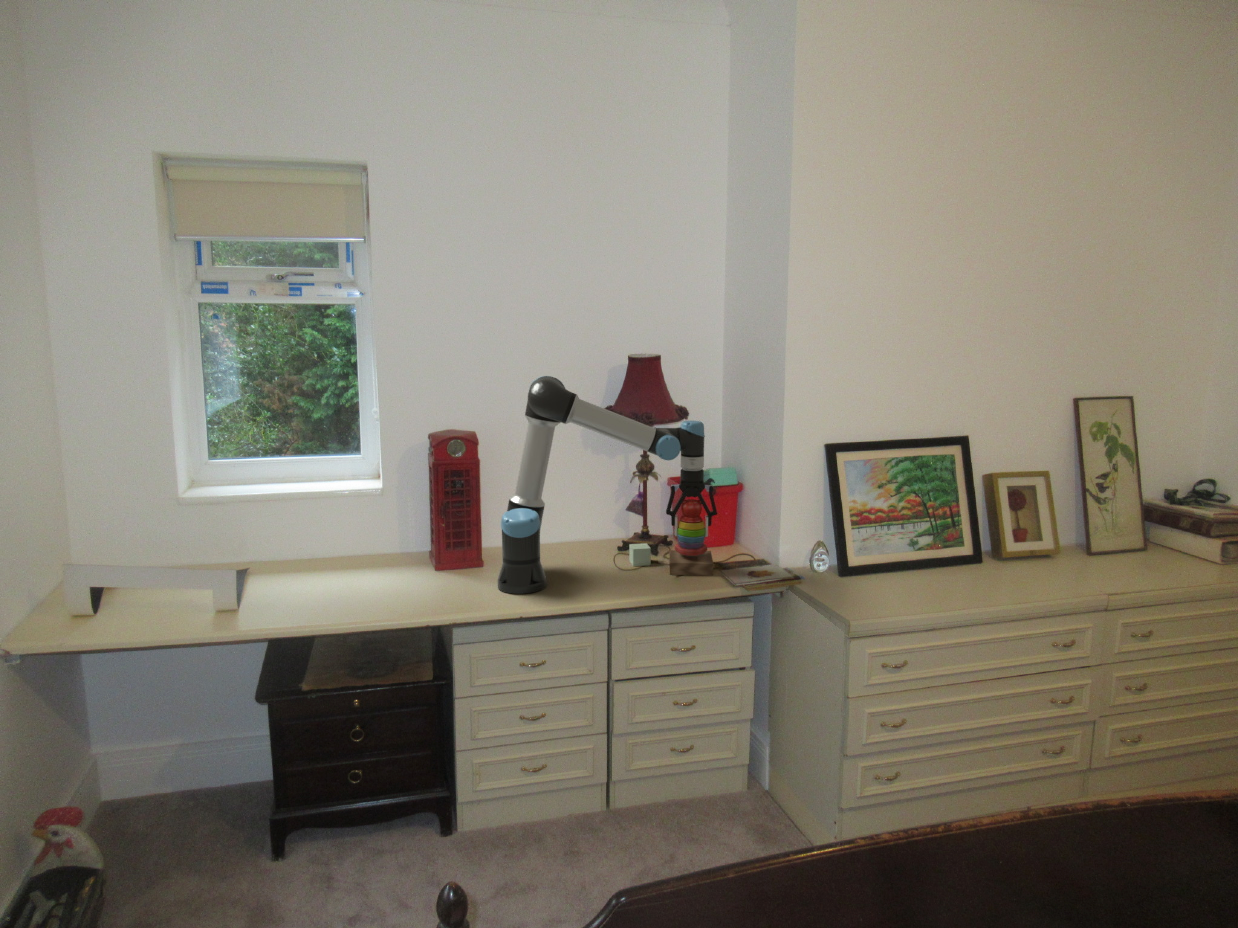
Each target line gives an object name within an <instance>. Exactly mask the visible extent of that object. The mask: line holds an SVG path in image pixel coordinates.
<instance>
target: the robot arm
mask: <svg viewBox="0 0 1238 928" xmlns="http://www.w3.org/2000/svg"><path fill="white" fill-rule="evenodd" d="M524 413H525V414H524V417H525V418H526V420H527V421H528V423H527V429H526V433H525V440H524V444H523V450H522V455H521V459H520V460H521V461H520V464H519V465H520V466H519V471H518V476H517V480H516V481H517V482H516V486H515V490H514V491H515V492H514V494H512V495H511V496H509V498H508V503H507V509H506V511H505V512H504V513H503V514H502V516H501V521H500V528H501V545H502V546H501V548H502V549H501V550H502V551H501V552H502V564H501V567H500V570H499V574H498V577H497V589H498V590H499V591H501V592H502V593H503V592H504V593H508V594H512V595H513V594H514V595H519V594H520V595H521V594H522V595H523V594H524V595H525V594H533V593H536V592H540V591H542V590H544V589H546V587H547V576H546V573H545V571H544V568H543V565H542V562H541V527H542V523H543V516H544V510H545V507H546V503H545V502H544V500H543V499H542V496H543V493H544V486H545V481H546V475H547V470H548V465H549V460H550V454H551V450H552V446H553V440H554V435H555V430H556V429H555V428H556V426H558V425H560V424H561V423H562V424H564V425H566V424H570V423H571V424H574V425H576V426H578V427H582V428H585V429H587V430H590V431H592V432H595V433H598V434H600V435H603V436H605V437H608V438H611V439H614V440H616V441H618V442H621V443H624V444H627V445H629V446H632V447H635V448H636V449H640V450H643V451H645V452H647V453H650V454H652V455H655V456H657V457H659V458H660V459H661V460H663V461H672V460H675V459H677V457H678V456H680V468H681V469H680V481H679V484H671V485H670V495H669V498H668V502H667V506H666V509H665V514H666V515H667V516H670V517H671V518H670V519H671V520H670V521H671V523H670V524H671V526H673V527H674V537H677V528H678V514H677V513H678V511H679V509H681V508H680V507H682V502H683V501H684V500H686V498H691V497H692V498H698V500H700V501H701V503H702V504H701V506H702V508H703V509H704V511H705V513H706V514H705V518H704V519H705V520H704V525H705V538H706V537H707V538H708V537H709V527H711V526H712V518H713V517H714V516H717V515H718V512H717V511H718V510H717V507H716V504H715V503H716V502H715V498H714V494H713V491H714V486H713V485H712V484H705V482H704V479H705V478H704V477H705V475H704V474H705V471H704V469H703V468H704V467H705V466H704V465H705V437H706V436H705V425H704V423H703V422H702V421H700V420H683V421H682V422H681V423H680V427H653V426H649V425H647V424H644V423H642V422H639V421H638V420H634V419H632V418H629V417H627V416H625V415H622V414H619V413H618V412H617V413H616V412H613V411H611V410H608V409H606V408H604V407H601V406H599V405H596V404H593V403H591V402H589V401H586V400H583V399H581V398H579V395H578V394H577V393H575V392H572V391H569V390H568V389H566V387H565V385H564V384H563V382H562V381H561V380H559V379H558V378H556V377H554V376H552V375H543V376H539V377H537V378H535V380H533V381H532V383H531V384H530V386H529V389H528V393H527V402H526V407H525V412H524ZM678 489H680V491H681V494H680V496H679V499H678V500H677V502H676V504H675V506H674V508H673V509H672V505H673V502H674V499H675V496H676V492H677V491H678ZM704 490H706V492H707V493H708V496H709V500H710V501H709V502H710V504H711V510H710V508H709V506H708V505H707V502H706V500H705V499H704V497H703V494H702V492H703V491H704Z"/></svg>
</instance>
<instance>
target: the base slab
mask: <svg viewBox="0 0 1238 928" xmlns="http://www.w3.org/2000/svg"><path fill="white" fill-rule="evenodd" d="M668 551H669V553H668V554H669V558H668V559H669V561H668V562H669V564H668V565H669V575H670V576H714V560H713V555H712V551H711V550H707V551H706V552H705V553H703V554H701V555H695V556H688V555H682V554H680V553H678V552H676V550H675V549H674V550H673V549H671V550H670V549H669V550H668Z"/></svg>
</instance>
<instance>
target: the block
mask: <svg viewBox="0 0 1238 928" xmlns="http://www.w3.org/2000/svg"><path fill="white" fill-rule="evenodd" d="M628 551H629V557H628V558H629V560H628V561H629V562H630V564H631V565H632V567H641V566H642V567H644V566H645V567H646V566H651V565H652V563H651V562H652V561H651V558H652V557H651V555H652V554H651V553H652V549H651V547H650V546H649V545H648V543H647V542H646V543H645V542H644V543H629V549H628Z"/></svg>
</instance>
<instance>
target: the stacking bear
mask: <svg viewBox="0 0 1238 928" xmlns="http://www.w3.org/2000/svg"><path fill="white" fill-rule="evenodd" d="M680 507H681V508H680V509H681V512H682V516H681V517H679V521H678V523H677V536H676V538H677V543H676V544H675V545H674V550H676V552H678V553H680V554H682V555H688V556H695V555H701V554H703V553H705V552H706V551H708V546H707V544H706V543H705V539H706V537H705V520H703V517H702V516H701V514H702V511H703V505H702V503H701V501H700V500H699V499H692V498H689V499H684V501H683V502H682V504H681V506H680Z"/></svg>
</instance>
